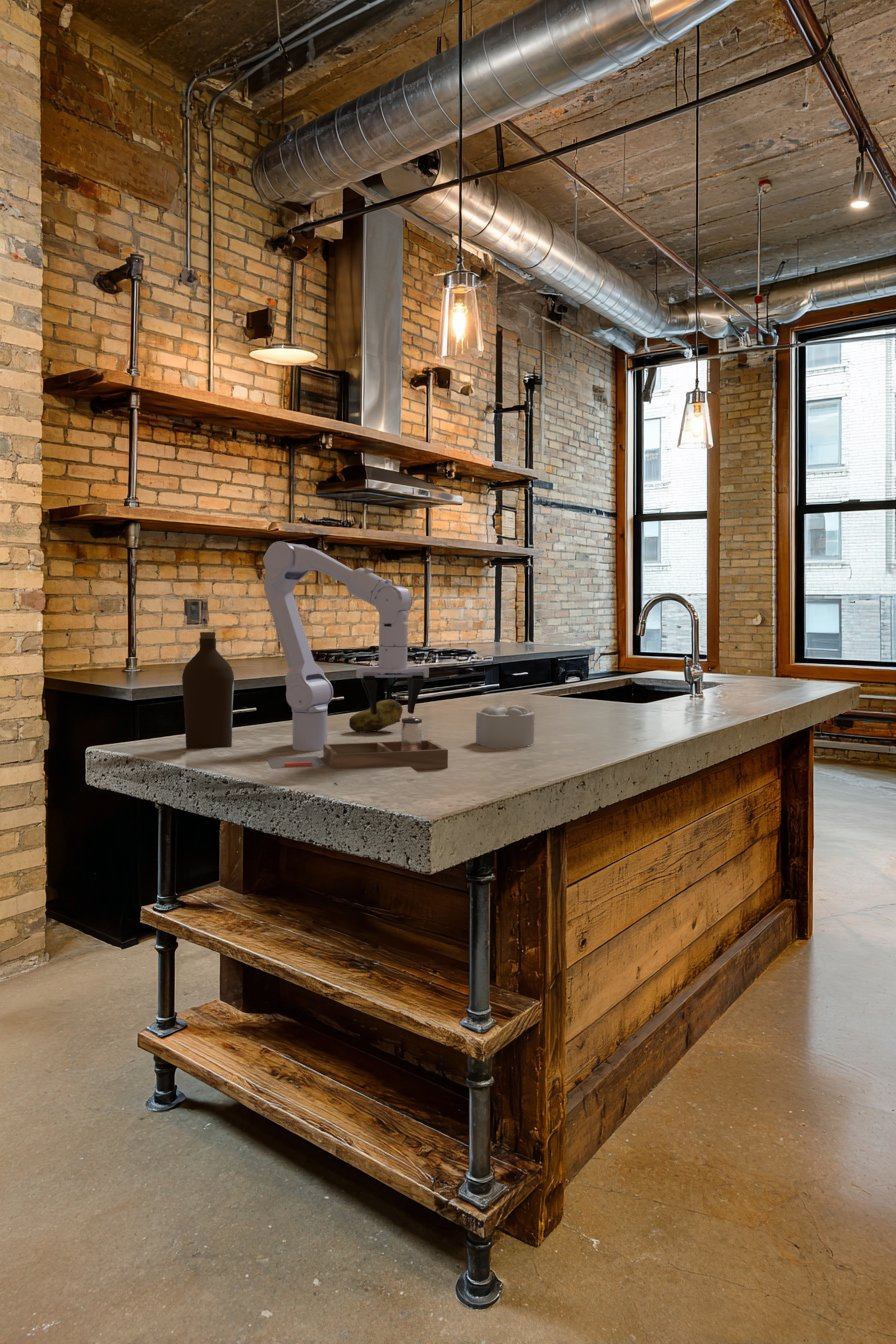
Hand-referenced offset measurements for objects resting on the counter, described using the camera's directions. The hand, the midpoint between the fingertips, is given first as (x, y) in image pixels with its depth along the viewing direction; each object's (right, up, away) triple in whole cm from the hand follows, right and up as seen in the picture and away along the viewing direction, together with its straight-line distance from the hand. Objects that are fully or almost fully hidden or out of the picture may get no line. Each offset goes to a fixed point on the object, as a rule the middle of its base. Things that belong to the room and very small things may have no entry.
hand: (392, 713), depth 168 cm
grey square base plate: (-18, -10, -8) cm, 22 cm away
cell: (+4, -9, -4) cm, 10 cm away
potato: (-6, -7, +37) cm, 38 cm away
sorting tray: (-1, -10, -5) cm, 11 cm away
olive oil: (-40, -8, +11) cm, 42 cm away
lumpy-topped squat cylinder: (+25, -8, +22) cm, 34 cm away
